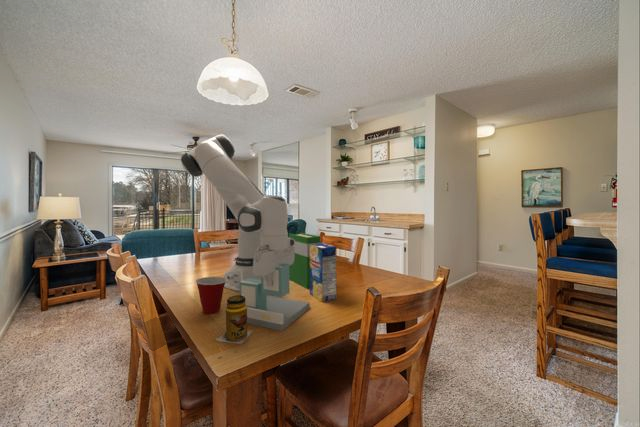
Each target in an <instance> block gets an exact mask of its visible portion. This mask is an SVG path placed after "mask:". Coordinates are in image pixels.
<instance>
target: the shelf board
mask: <svg viewBox="0 0 640 427" xmlns="http://www.w3.org/2000/svg"><path fill="white" fill-rule="evenodd" d="M266 304H267V308H266V309H264V310H260V309H255V308H250V307H247V324H250V325H254V326H258V327H262V328H268V329H271V330H276V331H281V332H282V331H284V330H285V329H286V328H287V327H288V326H290V325H291V324H292V323H293V322H294V321H295V320H297V319H298V318H299V317H300V316H302V315H303V314H304V313H305V312H306V311H308V310H309V309H310V306H311V305H310V301H302V300H297V299H296V300H295V299H291V298H284V297H282V298H281V297H275V296H270V295H266Z"/></svg>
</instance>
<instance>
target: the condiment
mask: <svg viewBox="0 0 640 427" xmlns="http://www.w3.org/2000/svg"><path fill="white" fill-rule="evenodd" d="M226 301H227V302H226V308H225V328H226V330H225V331H224V332H223V333H221V335H220V336H219V337H218V338H217V339H216V340H215V342H222V343H229V344H239V345H240V344H241V345H242V344H243V343H245V341H246V340H247V339H248V338H249V337H250V335H251V334H252V333H253V330H248V323H247V306H246V305H245V304H246V302H245V297H244V296H241V295H239V294H237V295H231V296H229V297H228V298H227V299H226Z"/></svg>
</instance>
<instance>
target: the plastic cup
mask: <svg viewBox="0 0 640 427" xmlns="http://www.w3.org/2000/svg"><path fill="white" fill-rule="evenodd" d="M226 281H227V279H226V278H224V277H221V276H204V277H200V278H197V279H195V283H196V286H197V290H198V295H199V299H200V304H201V308H202V312H203V314H205V315H212V314H216V313H218V312H219V311H220V310H221V305H222V301H223V294H224V288H225V287H224V285H225V282H226Z"/></svg>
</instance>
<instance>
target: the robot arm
mask: <svg viewBox="0 0 640 427" xmlns="http://www.w3.org/2000/svg"><path fill="white" fill-rule="evenodd" d="M235 152H236V151H235V146H234V144H233V141H232V140H230V138H228V136H226V135H225V134H223V133H222V134H217V135H215V136H214V137H211V138H209V139H206V140H204V141H202V142H199V143H198V145H196V146H194V147H193V148H192V149H190V150H189V151H186V152H184V154H182V156H181V158H180V161H181V165H182V168H183V169H184V171H185V172H186V173H188V174H189V175H191V176H192V177H200V176H203V175H204V176H205V178H206V179H207V180H208V181H209V183H210V184H212V185H213V187H214V188H215V190H216V191H217V192H218V194H219V195H220V197H221V198H222V200H223V201H224V203H225V205H226V206H227V207H228V209H229V210H230V212H231V213H232V215H233V217H234V218H235V219H236V221H237V224H238V236H237V257H235V258H234V257H233V261H234V262H235V263H234V264H233V265H232V266H231V267H230V268H229V269H227V270H226V271H225V273H224V277H223V278H226V279H227V281H226V282H225V285H224V288H225V289H227V290H228V289H229V290H231V291H232V290H233V291H236V292H239V282H240V281H243V280H245V279H248V278H250V279H257V280H261V277H264V278H265V280H266V286H267V287H271V286H273V280H271V276H272V273H274V272H275V270H276V266H279V265H281V264H289V266H290V265H292V264H293V263H294V257H295V249H294V245H295V240H294V239H292V238H289V233H288V229H287V225H288V222H289V219H288V218H289V216H288V206H287V201H286V199H285V198H284V197H282V196H279V195H271V194H270V195H269V194H268V195H267V194H266V195H264V194H263V192H262V191H261V190H260V189H259V188H258V187H257V186H256V184H254V182H253V181H251V180H250V178H248V177H247V176H246V175H245V174H244V173H243V172H242V171H241V170H240V169H239V168H238V167H237V165H236V164H235V163H234V162H233V161H232V159H233V157H234V156H235Z"/></svg>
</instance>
